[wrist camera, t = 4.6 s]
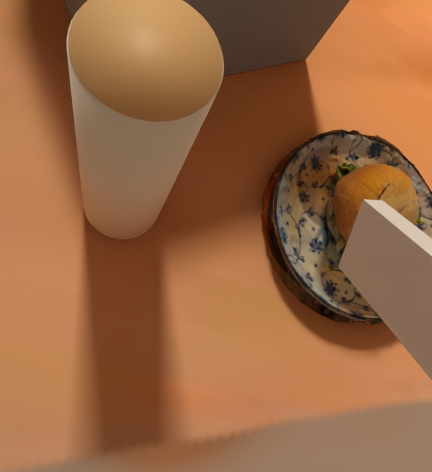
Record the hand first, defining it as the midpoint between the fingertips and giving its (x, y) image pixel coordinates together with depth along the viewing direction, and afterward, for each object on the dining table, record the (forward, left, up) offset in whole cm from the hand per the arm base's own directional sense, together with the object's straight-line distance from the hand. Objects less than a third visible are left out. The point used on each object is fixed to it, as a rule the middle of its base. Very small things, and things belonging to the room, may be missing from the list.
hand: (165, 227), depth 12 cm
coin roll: (+1, +4, -9) cm, 10 cm away
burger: (+13, -2, -10) cm, 16 cm away
